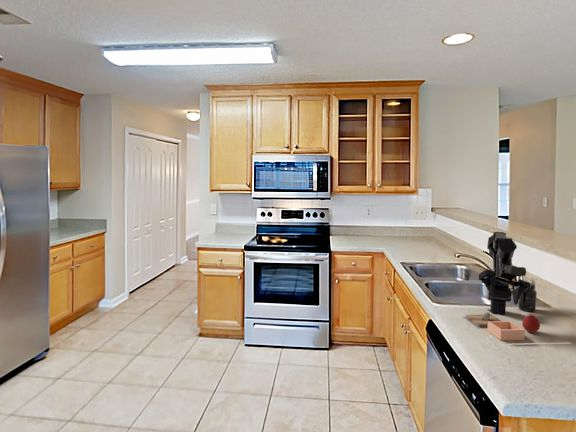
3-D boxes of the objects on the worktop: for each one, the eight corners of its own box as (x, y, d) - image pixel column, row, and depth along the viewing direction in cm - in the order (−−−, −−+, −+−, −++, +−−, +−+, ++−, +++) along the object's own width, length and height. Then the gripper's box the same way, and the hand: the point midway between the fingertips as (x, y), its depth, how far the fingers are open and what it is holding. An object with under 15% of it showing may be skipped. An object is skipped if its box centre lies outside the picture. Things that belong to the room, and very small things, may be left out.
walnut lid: (466, 317, 177) (466, 308, 176) (491, 317, 177) (491, 308, 177) (479, 327, 166) (480, 318, 165) (506, 326, 166) (506, 317, 166)
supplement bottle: (515, 306, 193) (517, 281, 192) (531, 307, 192) (533, 282, 191) (521, 311, 186) (523, 285, 185) (538, 312, 185) (540, 286, 184)
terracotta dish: (487, 332, 162) (487, 321, 161) (509, 332, 163) (510, 321, 162) (500, 342, 153) (501, 330, 153) (524, 341, 154) (524, 329, 153)
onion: (533, 330, 165) (534, 310, 164) (542, 336, 159) (544, 315, 158) (518, 330, 164) (520, 310, 164) (527, 336, 159) (529, 316, 158)
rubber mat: (462, 318, 178) (462, 316, 178) (492, 317, 179) (492, 316, 178) (478, 329, 165) (478, 328, 165) (510, 329, 166) (510, 327, 166)
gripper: (494, 250, 163) (494, 287, 155) (539, 264, 164) (541, 301, 156) (478, 261, 173) (477, 296, 165) (520, 274, 173) (522, 310, 166)
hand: (504, 300), depth 163 cm, fingers open, 9 cm apart
